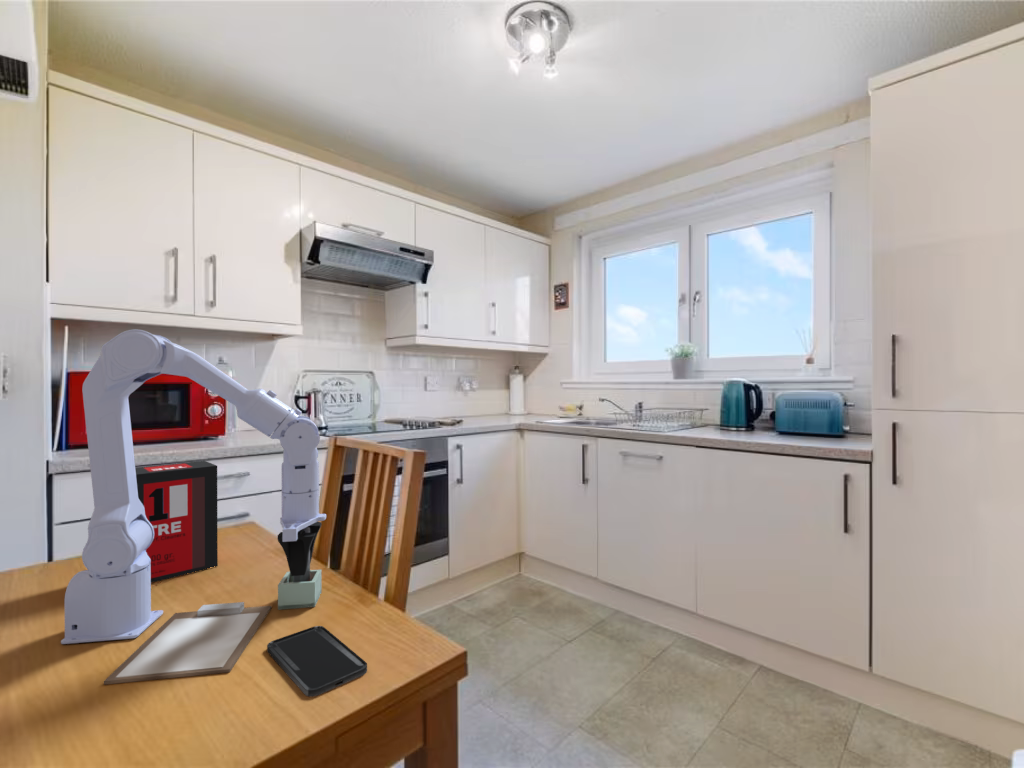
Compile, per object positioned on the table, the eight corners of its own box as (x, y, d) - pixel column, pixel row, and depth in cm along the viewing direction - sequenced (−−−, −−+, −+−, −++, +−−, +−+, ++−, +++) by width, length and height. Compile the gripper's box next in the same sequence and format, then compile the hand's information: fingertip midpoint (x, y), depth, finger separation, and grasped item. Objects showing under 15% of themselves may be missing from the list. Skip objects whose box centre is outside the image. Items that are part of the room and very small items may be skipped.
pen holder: (277, 609, 80) (277, 584, 80) (287, 594, 85) (287, 571, 85) (314, 606, 81) (314, 582, 81) (321, 592, 86) (321, 569, 86)
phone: (320, 624, 74) (370, 665, 63) (320, 631, 74) (370, 674, 63) (263, 643, 68) (308, 693, 57) (263, 652, 68) (308, 702, 57)
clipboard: (103, 684, 60) (103, 672, 60) (175, 615, 78) (175, 606, 78) (229, 672, 63) (229, 661, 63) (271, 608, 80) (271, 599, 80)
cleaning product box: (110, 592, 86) (110, 477, 86) (103, 578, 93) (103, 470, 93) (217, 566, 98) (217, 465, 98) (204, 555, 105) (204, 460, 104)
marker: (291, 592, 82) (291, 531, 82) (295, 586, 84) (295, 527, 84) (308, 591, 82) (308, 530, 82) (311, 585, 85) (311, 526, 85)
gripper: (316, 499, 77) (317, 587, 77) (333, 480, 91) (333, 554, 91) (267, 501, 75) (267, 590, 75) (291, 481, 90) (292, 557, 90)
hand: (300, 571), depth 83 cm, fingers closed on marker, 2 cm apart
